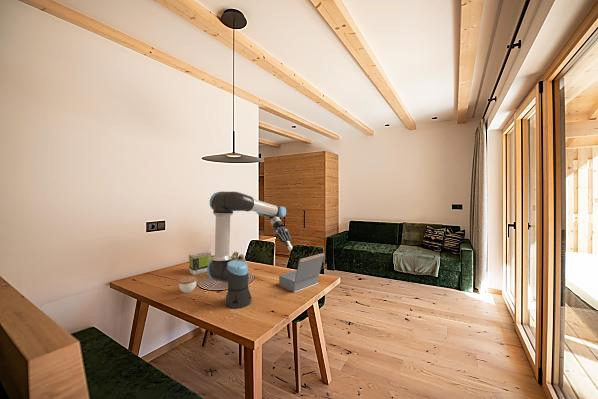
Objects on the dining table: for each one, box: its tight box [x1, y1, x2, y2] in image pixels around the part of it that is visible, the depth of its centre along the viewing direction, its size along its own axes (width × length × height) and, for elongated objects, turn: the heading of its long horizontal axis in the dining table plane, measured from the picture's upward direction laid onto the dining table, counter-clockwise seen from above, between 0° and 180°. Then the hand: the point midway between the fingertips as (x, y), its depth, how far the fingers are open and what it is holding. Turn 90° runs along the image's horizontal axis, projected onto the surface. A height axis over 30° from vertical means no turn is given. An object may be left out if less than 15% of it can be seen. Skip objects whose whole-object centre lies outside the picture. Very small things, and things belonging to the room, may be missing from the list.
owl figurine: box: [230, 251, 246, 263], centre depth 199 cm, size 18×12×17 cm, turn 151°
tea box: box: [188, 250, 213, 276], centre depth 203 cm, size 15×10×15 cm
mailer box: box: [278, 270, 320, 293], centre depth 173 cm, size 22×16×7 cm
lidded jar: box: [178, 276, 197, 294], centre depth 164 cm, size 11×11×9 cm
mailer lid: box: [295, 252, 325, 282], centre depth 164 cm, size 22×16×1 cm
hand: (291, 249), depth 178 cm, fingers closed
